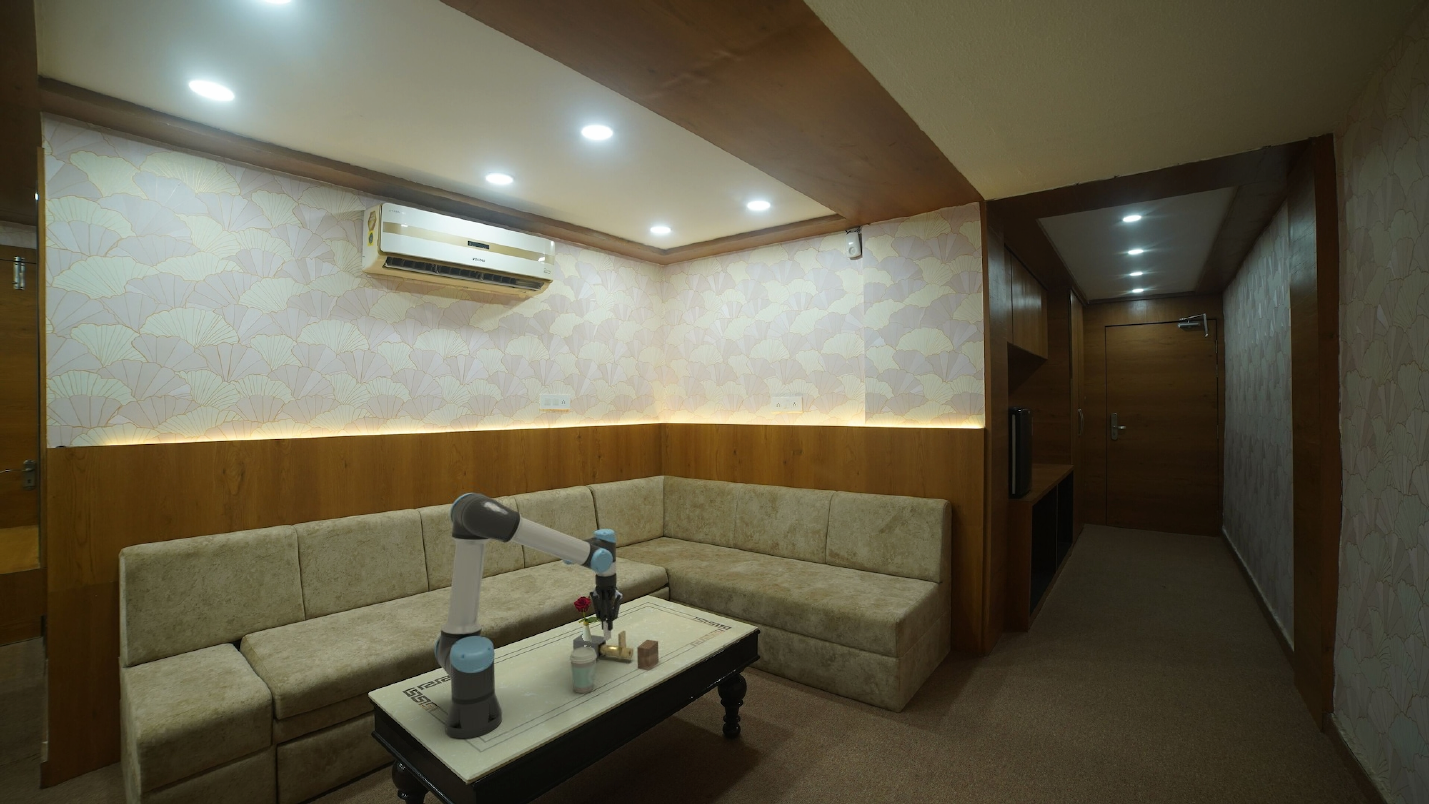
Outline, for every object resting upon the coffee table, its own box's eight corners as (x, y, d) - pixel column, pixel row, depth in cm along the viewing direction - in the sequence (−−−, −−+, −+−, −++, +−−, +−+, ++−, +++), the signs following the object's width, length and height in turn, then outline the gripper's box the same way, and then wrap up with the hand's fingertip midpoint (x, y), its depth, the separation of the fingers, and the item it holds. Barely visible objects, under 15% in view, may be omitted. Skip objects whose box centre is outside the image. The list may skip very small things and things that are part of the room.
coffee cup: (591, 696, 188) (590, 658, 187) (565, 694, 189) (564, 656, 189) (601, 683, 196) (600, 646, 196) (577, 681, 198) (576, 645, 197)
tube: (573, 651, 218) (572, 627, 218) (578, 647, 221) (578, 624, 221) (628, 660, 210) (628, 635, 209) (633, 656, 213) (632, 632, 213)
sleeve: (573, 657, 216) (573, 640, 216) (583, 650, 222) (582, 633, 222) (597, 660, 213) (596, 643, 213) (606, 654, 218) (605, 637, 218)
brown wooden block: (637, 668, 206) (637, 647, 206) (647, 659, 213) (646, 639, 213) (649, 670, 205) (648, 649, 205) (658, 661, 211) (658, 641, 211)
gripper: (584, 574, 213) (586, 640, 213) (616, 577, 208) (618, 645, 209) (595, 568, 220) (597, 632, 220) (627, 571, 215) (628, 637, 216)
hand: (607, 638), depth 215 cm, fingers closed
